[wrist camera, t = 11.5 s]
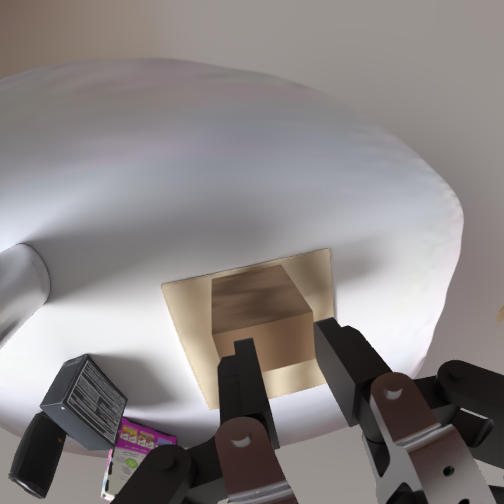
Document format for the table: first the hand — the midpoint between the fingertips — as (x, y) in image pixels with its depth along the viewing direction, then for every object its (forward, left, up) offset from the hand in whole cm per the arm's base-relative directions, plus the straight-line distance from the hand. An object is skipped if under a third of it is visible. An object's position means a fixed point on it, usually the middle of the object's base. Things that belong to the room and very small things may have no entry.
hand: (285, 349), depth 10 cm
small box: (-27, -18, -21) cm, 39 cm away
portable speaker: (-47, -30, -21) cm, 60 cm away
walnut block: (0, -7, -20) cm, 22 cm away
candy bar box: (-24, -32, -21) cm, 46 cm away
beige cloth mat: (0, -16, -21) cm, 26 cm away
